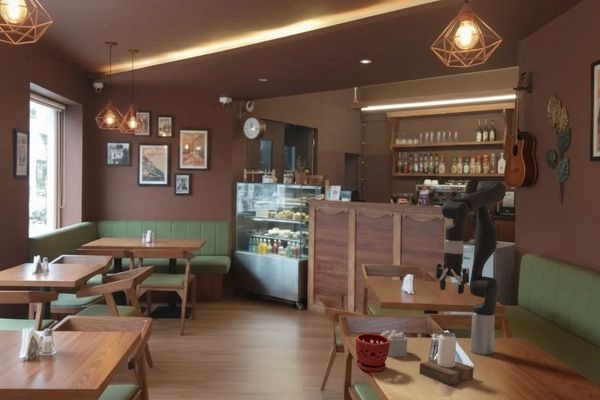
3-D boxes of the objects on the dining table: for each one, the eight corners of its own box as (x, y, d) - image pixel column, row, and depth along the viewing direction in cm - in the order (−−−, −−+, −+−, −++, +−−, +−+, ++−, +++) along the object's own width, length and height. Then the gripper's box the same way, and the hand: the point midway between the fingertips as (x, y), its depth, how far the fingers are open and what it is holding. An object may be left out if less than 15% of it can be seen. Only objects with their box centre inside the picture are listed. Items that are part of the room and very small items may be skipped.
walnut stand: (443, 367, 213) (443, 357, 213) (472, 378, 201) (473, 367, 201) (419, 373, 204) (419, 363, 204) (449, 385, 193) (449, 374, 193)
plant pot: (350, 370, 205) (351, 339, 205) (361, 360, 217) (362, 331, 217) (382, 376, 200) (384, 345, 199) (392, 366, 212) (393, 336, 211)
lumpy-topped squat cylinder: (385, 357, 223) (386, 336, 222) (376, 347, 235) (377, 327, 235) (409, 356, 224) (410, 336, 224) (398, 347, 237) (399, 327, 237)
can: (455, 369, 199) (457, 337, 199) (437, 367, 201) (439, 335, 200) (454, 363, 206) (456, 332, 205) (437, 361, 207) (438, 331, 207)
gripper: (474, 253, 209) (472, 294, 210) (445, 248, 221) (443, 287, 221) (462, 254, 205) (460, 296, 205) (433, 249, 216) (431, 289, 217)
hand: (451, 291), depth 213 cm, fingers open, 8 cm apart
